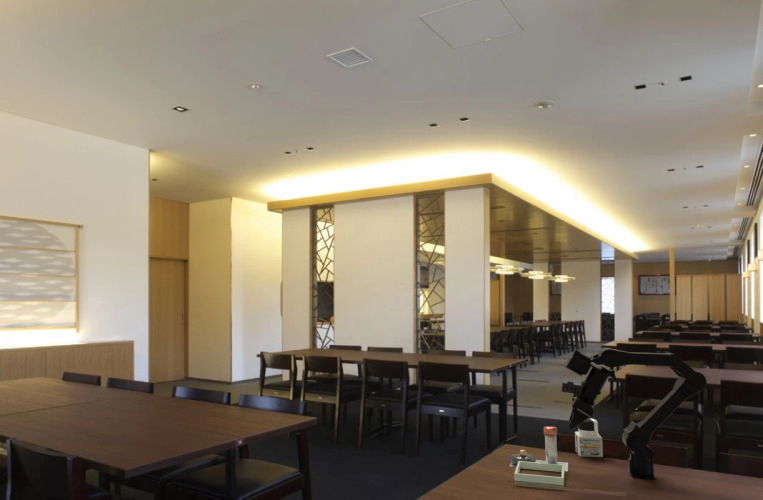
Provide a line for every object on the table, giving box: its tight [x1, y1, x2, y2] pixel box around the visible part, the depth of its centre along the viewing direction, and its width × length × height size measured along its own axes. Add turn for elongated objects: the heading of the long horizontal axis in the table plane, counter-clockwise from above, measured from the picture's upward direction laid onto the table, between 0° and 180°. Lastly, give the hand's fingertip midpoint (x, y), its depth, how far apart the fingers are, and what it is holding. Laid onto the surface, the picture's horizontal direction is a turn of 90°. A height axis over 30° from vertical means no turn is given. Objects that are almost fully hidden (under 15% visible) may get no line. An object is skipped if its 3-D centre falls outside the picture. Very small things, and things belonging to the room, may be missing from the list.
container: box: [574, 417, 604, 458], centre depth 191 cm, size 8×8×13 cm
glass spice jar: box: [543, 425, 558, 464], centre depth 177 cm, size 4×4×12 cm
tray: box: [513, 461, 565, 490], centre depth 165 cm, size 14×14×3 cm
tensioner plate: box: [509, 449, 569, 472], centre depth 178 cm, size 18×10×5 cm, turn 71°
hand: (570, 424), depth 176 cm, fingers open, 9 cm apart
